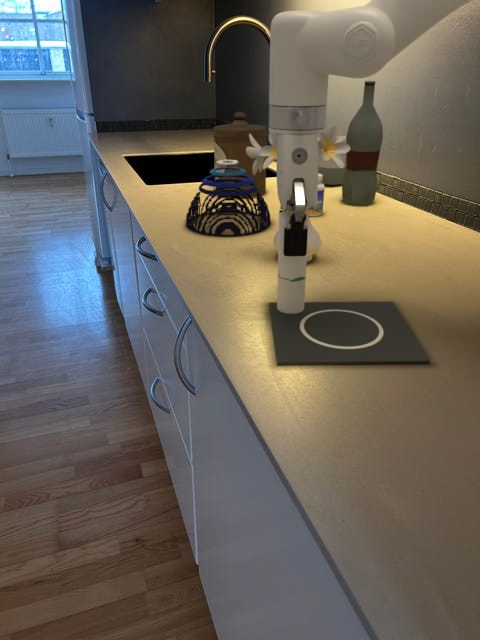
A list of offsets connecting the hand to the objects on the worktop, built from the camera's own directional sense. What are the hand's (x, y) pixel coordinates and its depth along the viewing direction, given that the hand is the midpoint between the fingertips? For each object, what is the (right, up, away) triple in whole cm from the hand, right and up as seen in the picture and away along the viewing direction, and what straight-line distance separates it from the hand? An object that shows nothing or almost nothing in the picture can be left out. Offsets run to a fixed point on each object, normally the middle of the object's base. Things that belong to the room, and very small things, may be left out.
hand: (291, 244), depth 76 cm
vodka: (+24, +21, +64) cm, 71 cm away
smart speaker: (+20, +31, +83) cm, 91 cm away
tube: (0, -9, +5) cm, 11 cm away
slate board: (+7, -13, -1) cm, 15 cm away
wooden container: (-8, +26, +74) cm, 79 cm away
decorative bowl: (-10, +12, +47) cm, 49 cm away
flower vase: (+3, +1, +26) cm, 26 cm away
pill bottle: (+11, +16, +54) cm, 57 cm away
